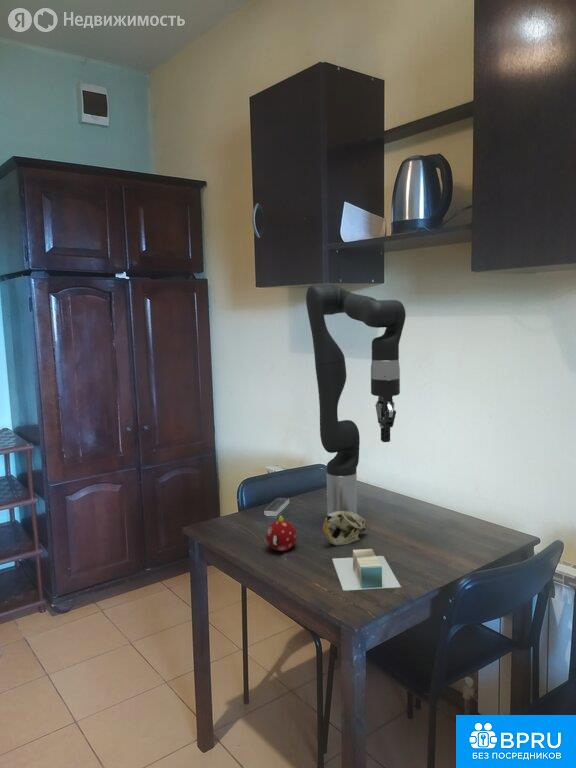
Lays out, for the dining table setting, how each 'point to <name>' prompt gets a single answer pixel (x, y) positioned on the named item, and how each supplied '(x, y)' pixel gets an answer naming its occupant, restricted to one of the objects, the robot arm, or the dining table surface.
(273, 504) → the multiport hub
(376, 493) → the dining table surface
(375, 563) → the tall block
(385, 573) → the mat
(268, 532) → the christmas ornament
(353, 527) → the skull
